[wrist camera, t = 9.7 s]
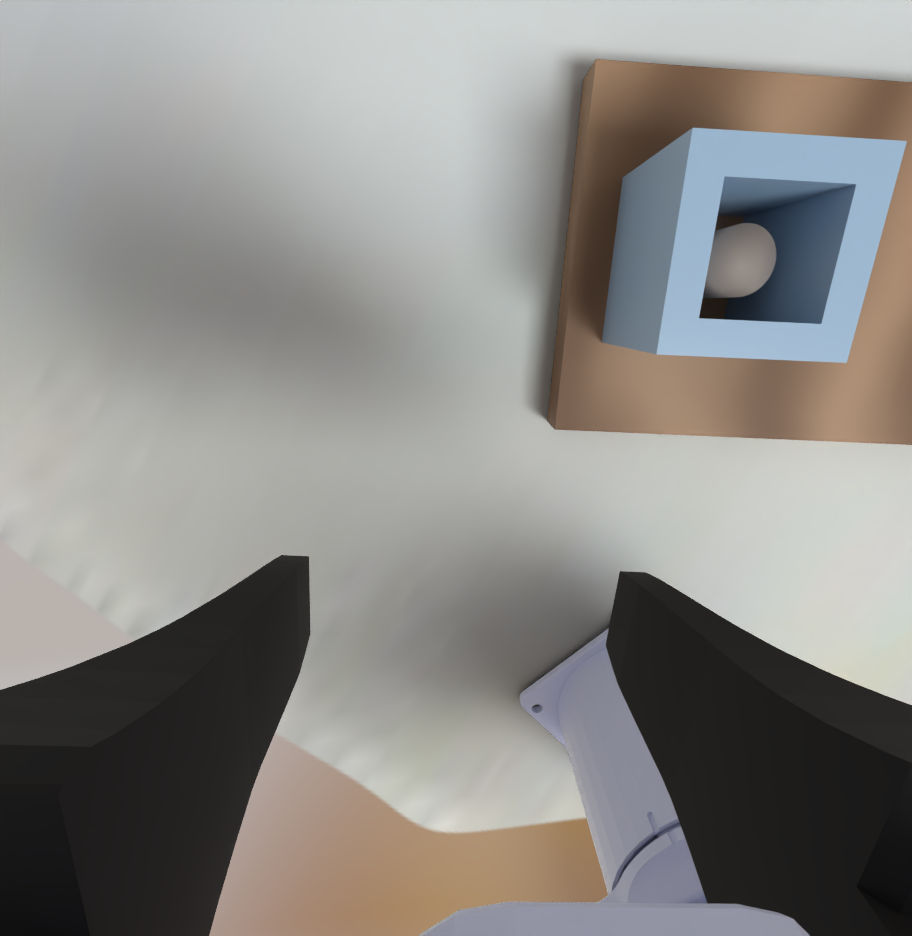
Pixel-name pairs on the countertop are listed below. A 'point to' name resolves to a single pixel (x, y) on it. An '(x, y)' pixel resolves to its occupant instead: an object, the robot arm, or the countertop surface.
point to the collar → (763, 203)
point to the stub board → (719, 381)
